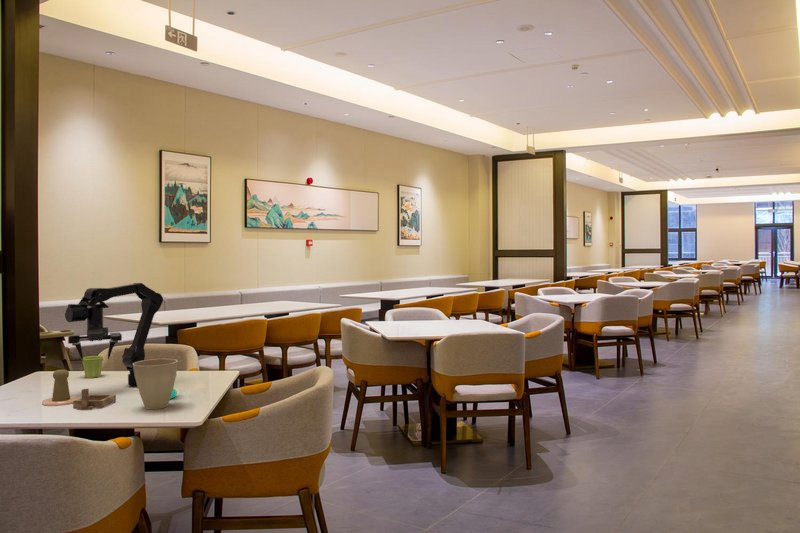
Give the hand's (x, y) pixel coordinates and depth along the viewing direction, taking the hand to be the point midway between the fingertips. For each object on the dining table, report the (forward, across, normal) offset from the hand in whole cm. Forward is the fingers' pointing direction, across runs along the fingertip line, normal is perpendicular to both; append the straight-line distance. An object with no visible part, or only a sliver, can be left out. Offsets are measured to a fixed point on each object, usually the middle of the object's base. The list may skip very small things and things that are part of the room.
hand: (95, 359), depth 245 cm
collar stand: (+13, -1, -23) cm, 26 cm away
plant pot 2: (+13, +18, -36) cm, 42 cm away
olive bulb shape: (+12, -12, -11) cm, 20 cm away
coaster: (+13, -12, -11) cm, 21 cm away
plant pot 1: (+13, 0, +38) cm, 40 cm away
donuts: (+13, +22, -22) cm, 34 cm away
